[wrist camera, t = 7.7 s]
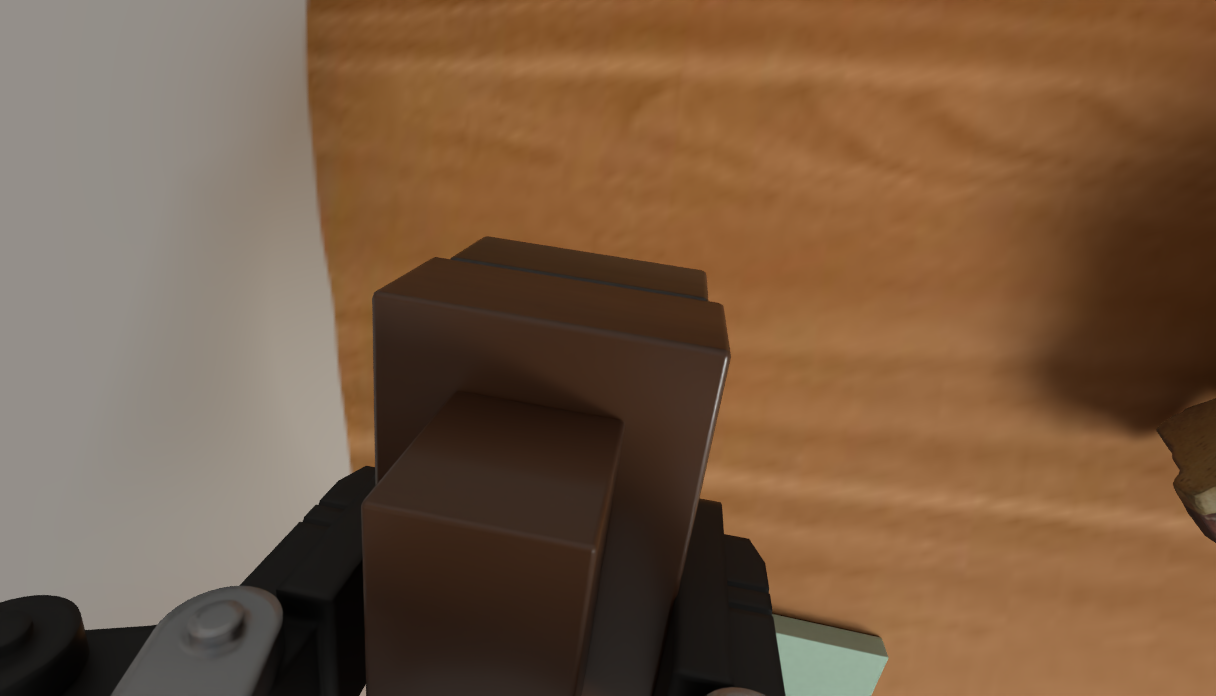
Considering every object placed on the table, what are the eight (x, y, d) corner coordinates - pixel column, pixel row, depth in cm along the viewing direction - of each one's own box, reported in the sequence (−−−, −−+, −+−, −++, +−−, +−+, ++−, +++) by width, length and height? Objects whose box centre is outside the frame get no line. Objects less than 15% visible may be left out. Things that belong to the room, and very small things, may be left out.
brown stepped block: (472, 232, 10) (230, 371, 5) (720, 272, 10) (750, 465, 4) (452, 645, 13) (300, 987, 8) (636, 682, 13) (598, 1061, 8)
